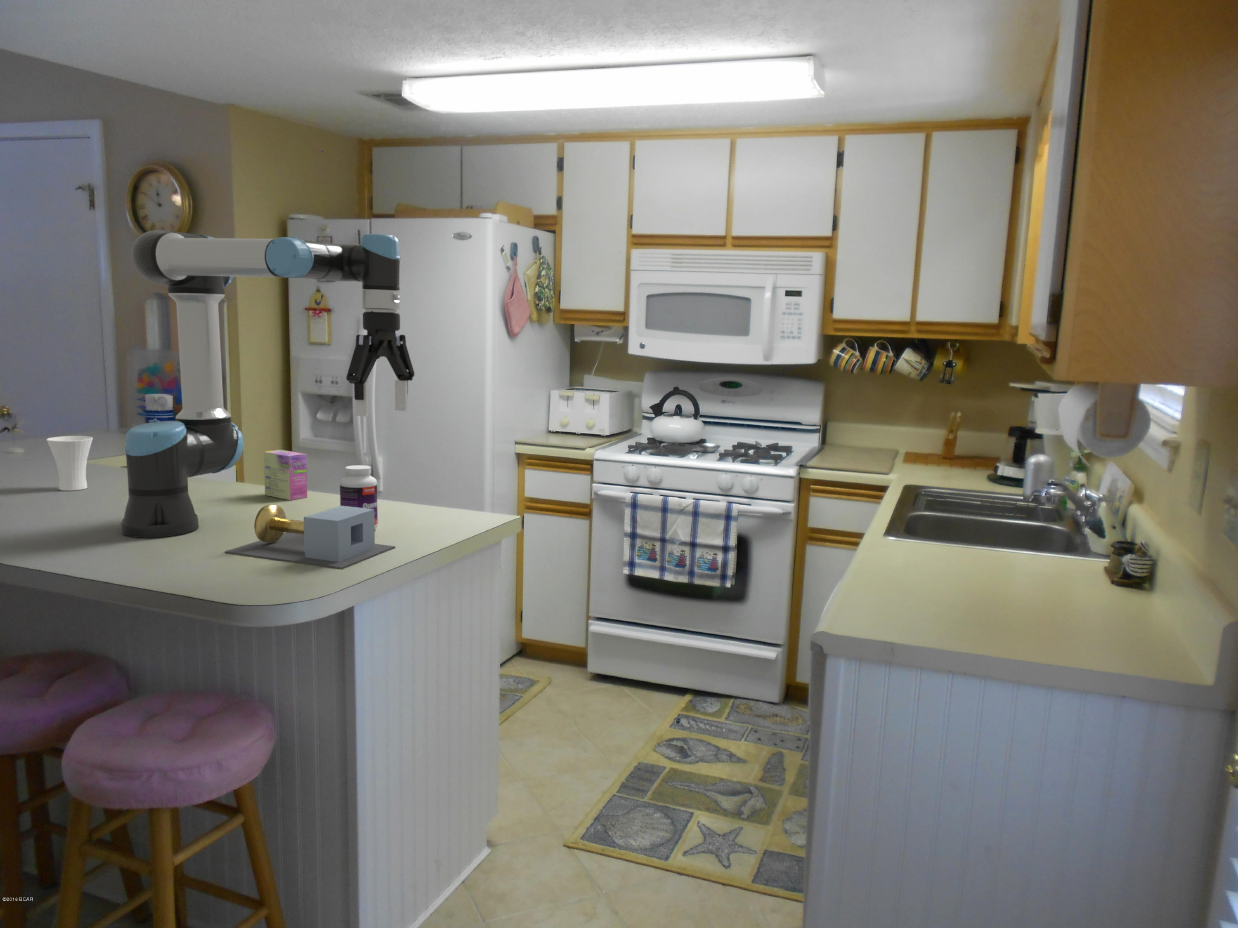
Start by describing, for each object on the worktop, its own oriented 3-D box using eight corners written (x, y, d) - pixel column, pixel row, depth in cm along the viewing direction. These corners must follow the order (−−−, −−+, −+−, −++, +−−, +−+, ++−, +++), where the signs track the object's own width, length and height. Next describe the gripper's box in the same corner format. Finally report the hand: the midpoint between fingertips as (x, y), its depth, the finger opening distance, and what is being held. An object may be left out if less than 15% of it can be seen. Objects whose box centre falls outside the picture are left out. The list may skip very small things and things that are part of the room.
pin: (255, 545, 184) (253, 508, 183) (280, 537, 191) (279, 501, 190) (329, 555, 178) (328, 517, 177) (352, 546, 185) (352, 509, 184)
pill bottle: (367, 535, 198) (366, 471, 196) (333, 532, 199) (332, 468, 197) (384, 527, 206) (383, 465, 203) (351, 524, 207) (350, 463, 205)
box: (308, 497, 236) (307, 453, 234) (290, 500, 232) (288, 455, 230) (282, 492, 242) (281, 449, 240) (264, 495, 237) (263, 451, 235)
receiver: (304, 558, 178) (303, 516, 176) (342, 545, 189) (341, 505, 188) (338, 563, 175) (337, 520, 174) (374, 549, 186) (374, 509, 185)
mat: (225, 552, 180) (224, 551, 180) (285, 533, 197) (285, 532, 197) (342, 568, 171) (342, 567, 171) (395, 547, 188) (395, 546, 188)
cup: (80, 493, 233) (77, 441, 231) (40, 491, 233) (37, 440, 231) (104, 485, 244) (101, 436, 242) (66, 484, 244) (62, 435, 242)
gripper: (358, 310, 173) (359, 419, 176) (430, 312, 196) (430, 409, 199) (326, 309, 176) (328, 417, 179) (401, 312, 199) (402, 407, 202)
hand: (382, 413), depth 189 cm, fingers open, 13 cm apart
